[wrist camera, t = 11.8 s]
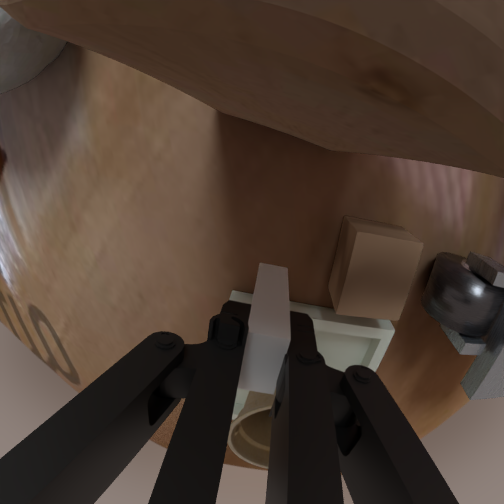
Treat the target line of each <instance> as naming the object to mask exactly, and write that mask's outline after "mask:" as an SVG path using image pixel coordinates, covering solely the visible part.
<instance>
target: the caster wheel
mask: <svg viewBox="0 0 504 504" xmlns="http://www.w3.org/2000/svg"><path fill="white" fill-rule="evenodd" d="M421 304H422V306H423V308H424V309H425V310H426V312H427V313H428V314H429V315H430V316H432V317H433V318H434V319H435V320H437V321H438V322H440V323H441V324H440V327H441V328H442V330H443V331H444V333H445V334H446V335H447V337H448V338H449V340H450V341H451V342H452V344H453V345H454V347H455V348H456V350H457V351H458V352H459V354H462V355H477V357H476V358H475V360H474V362H473V363H472V365H471V367H470V368H469V370H468V372H467V373H466V375H465V377H464V378H463V380H462V381H461V383H460V384H461V385H462V387H463V389H464V391H465V392H466V394H467V396H468V398H469V399H470V400H476V399H487V398H496V397H504V267H503V266H502V265H500V264H499V263H497V262H496V261H495V260H493V259H492V258H490V257H488V256H484V255H481V254H478V253H474V252H471V251H470V252H469V255H468V258H465V257H462V256H459V255H455V254H451V253H446V252H440V253H438V255H437V258H436V261H435V264H434V266H433V269H432V272H431V275H430V277H429V280H428V283H427V285H426V288H425V290H424V293H423V296H422V298H421Z"/></svg>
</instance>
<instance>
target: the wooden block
mask: <svg viewBox="0 0 504 504" xmlns="http://www.w3.org/2000/svg"><path fill="white" fill-rule="evenodd" d="M0 7H1V8H2V9H3V10H4V11H6V12H7V13H8V14H9V15H10V16H11V17H12V18H13V19H15V20H16V21H18V22H19V23H20V24H22V25H23V26H24V27H26V28H27V29H31V30H34V31H37V32H41V33H44V34H47V35H50V36H53V37H56V38H59V39H62V40H65V41H68V42H70V43H73V44H76V45H79V46H81V47H84V48H87V49H89V50H92V51H94V52H97V53H99V54H102V55H104V56H107V57H109V58H112V59H114V60H116V61H119V62H121V63H123V64H126V65H128V66H130V67H132V68H135V69H137V70H139V71H141V72H143V73H146V74H148V75H150V76H152V77H154V78H156V79H158V80H160V81H162V82H164V83H167V84H169V85H171V86H173V87H175V88H177V89H179V90H181V91H183V92H184V93H186V94H188V95H190V96H192V97H194V98H196V99H198V100H200V101H202V102H203V103H205V104H207V105H209V106H211V107H213V108H214V109H216V110H218V111H220V112H222V113H225V114H228V115H231V116H235V117H238V118H241V119H245V120H248V121H251V122H254V123H257V124H260V125H263V126H266V127H269V128H272V129H275V130H278V131H281V132H283V133H286V134H289V135H292V136H294V137H297V138H300V139H303V140H305V141H308V142H310V143H313V144H315V145H318V146H321V147H323V148H325V149H328V150H330V151H342V152H353V153H363V154H372V155H381V156H389V157H397V158H404V159H411V160H418V161H424V162H430V163H436V164H442V165H447V166H453V167H458V168H463V169H468V170H472V171H477V172H482V173H486V174H490V175H494V176H499V177H503V178H504V0H0Z"/></svg>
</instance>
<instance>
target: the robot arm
mask: <svg viewBox="0 0 504 504" xmlns="http://www.w3.org/2000/svg"><path fill="white" fill-rule="evenodd" d="M237 388H239V389H244V390H249V391H255V392H261V393H267V394H273V395H274V392H275V389H276V396H275V399H274V402H273V405H272V408H271V411H270V413H269V417H271V416H272V423H271V438H270V453H269V466H268V479H267V491H266V502H265V504H344V501H343V490H342V481H341V473H342V475H343V477H344V480H345V483H346V485H347V488H348V490H349V492H350V495H351V497H352V500H353V502H354V504H459V503H458V501H457V500H456V498H455V496H454V495H453V493H452V491H451V490H450V488H449V486H448V485H447V483H446V481H445V480H444V478H443V477H442V475H441V473H440V471H439V470H438V468H437V466H436V465H435V463H434V462H433V460H432V459H431V457H430V455H429V454H428V452H427V451H426V449H425V447H424V446H423V444H422V442H421V441H420V439H419V438H418V436H417V435H416V433H415V431H414V430H413V428H412V427H411V425H410V424H409V422H408V421H407V419H406V417H405V416H404V414H403V413H402V411H401V410H400V408H399V407H398V405H397V404H396V402H395V401H394V399H393V398H392V396H391V395H390V393H389V391H388V390H387V388H386V387H385V385H384V384H383V382H382V381H381V379H380V378H379V376H378V375H377V374H376V373H375V372H374V371H373V370H371V369H370V368H368V367H366V366H362V365H352V366H349V367H348V368H346V370H345V372H343V371H340V370H337V369H334V368H332V367H329V366H328V365H326V364H325V359H324V357H323V356H322V355H321V354H320V353H319V352H318V351H317V344H316V338H315V331H314V325H313V320H312V319H311V318H310V316H309V315H308V314H306V313H300V312H295V311H290V306H289V284H288V268H286V267H281V266H276V265H271V264H265V263H260V264H259V269H258V274H257V279H256V284H255V289H254V294H253V299H252V304H247V303H242V302H237V301H232V300H229V301H228V302H226V303H225V304H223V307H222V309H221V312H220V314H218V315H216V316H213V317H212V318H211V319H210V323H209V331H208V339H207V341H206V342H204V343H200V344H184V341H183V340H182V338H181V337H180V336H178V335H176V334H174V333H171V332H162V331H161V332H156V333H153V334H151V335H149V336H148V337H147V338H146V339H144V340H143V341H142V342H141V343H140V344H138V345H137V346H136V347H135V348H133V349H132V350H131V351H130V352H129V353H127V354H126V355H125V356H124V357H123V358H121V359H120V360H119V361H118V362H117V363H115V364H114V365H113V366H112V367H110V368H109V369H108V370H107V371H106V372H104V373H103V374H102V375H101V376H100V377H98V378H97V379H96V380H95V381H94V382H92V383H91V384H90V385H89V386H88V387H86V388H85V389H84V390H83V391H81V392H80V393H79V394H78V395H77V396H75V397H74V398H73V399H72V400H71V401H69V403H67V404H66V405H65V406H63V407H62V408H61V409H60V410H59V411H57V412H56V413H55V414H54V415H53V416H51V417H50V418H49V419H48V420H46V421H45V422H44V423H43V424H42V425H40V426H39V427H38V428H37V429H36V430H34V431H33V432H32V433H31V434H30V435H28V436H27V437H26V438H25V439H24V440H22V441H21V442H20V443H19V444H17V445H16V446H15V447H14V448H13V449H11V450H10V451H9V452H8V453H7V454H5V455H4V456H3V457H2V458H1V459H0V504H94V503H95V502H96V501H97V499H98V498H99V497H100V496H101V495H102V494H103V493H104V492H105V490H106V489H107V488H108V487H109V486H110V485H111V484H112V482H113V481H114V480H115V479H116V478H117V477H118V476H119V474H120V473H121V472H122V471H123V470H124V468H125V467H126V466H127V465H128V464H129V463H130V461H131V460H132V459H133V458H134V457H135V456H136V454H137V453H138V452H139V451H140V450H141V448H142V447H143V446H144V445H145V444H146V442H147V441H148V440H149V439H150V438H151V436H152V435H153V434H154V433H155V432H156V430H157V429H158V428H159V427H160V426H161V424H162V423H163V422H164V421H165V419H166V418H167V417H168V416H169V414H170V413H171V412H172V411H173V410H174V408H175V407H176V406H177V405H178V403H179V402H180V400H181V398H186V399H185V402H184V405H183V408H182V410H181V413H180V416H179V419H178V421H177V424H176V427H175V430H174V432H173V435H172V438H171V441H170V444H169V446H168V449H167V452H166V455H165V458H164V461H163V463H162V466H161V469H160V472H159V475H158V478H157V480H156V483H155V486H154V489H153V492H152V494H151V497H150V500H149V503H148V504H215V503H216V498H217V493H218V488H219V483H220V478H221V472H222V467H223V462H224V457H225V452H226V447H227V441H228V436H229V431H230V426H231V420H232V415H233V410H234V404H235V399H236V394H237ZM340 470H341V471H340Z"/></svg>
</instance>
